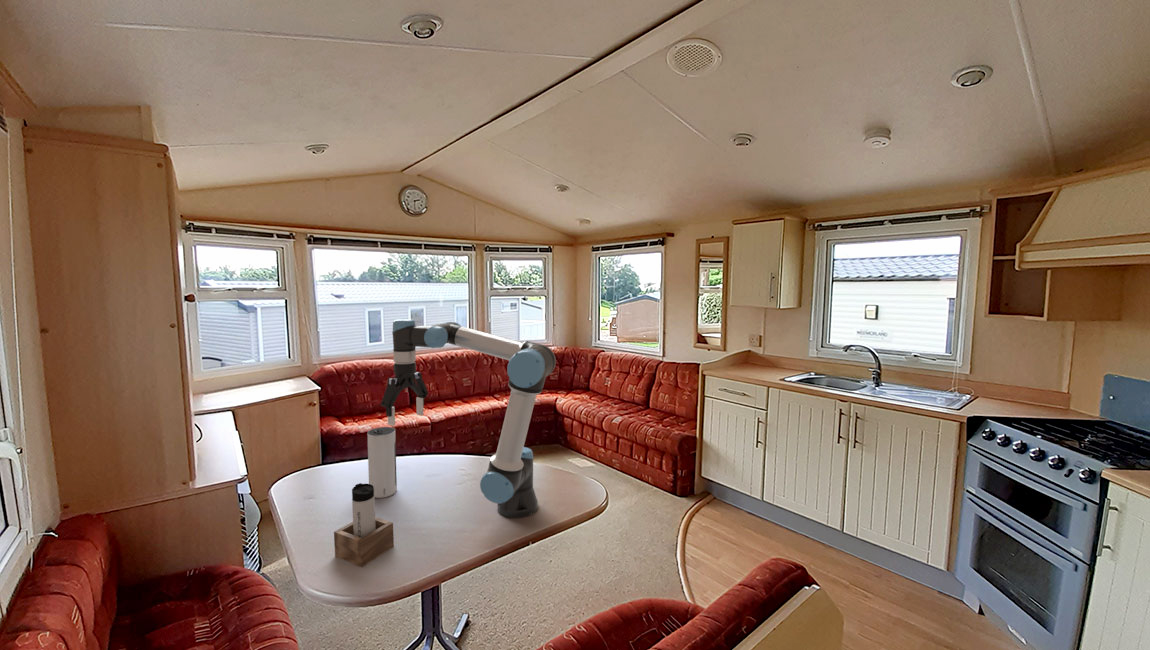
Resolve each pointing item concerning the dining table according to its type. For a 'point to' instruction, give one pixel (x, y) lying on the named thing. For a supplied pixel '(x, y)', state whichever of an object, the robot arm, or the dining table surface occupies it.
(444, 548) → the dining table surface
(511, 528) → the dining table surface
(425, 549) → the dining table surface
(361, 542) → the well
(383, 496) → the speaker
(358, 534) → the travel mug
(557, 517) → the dining table surface
